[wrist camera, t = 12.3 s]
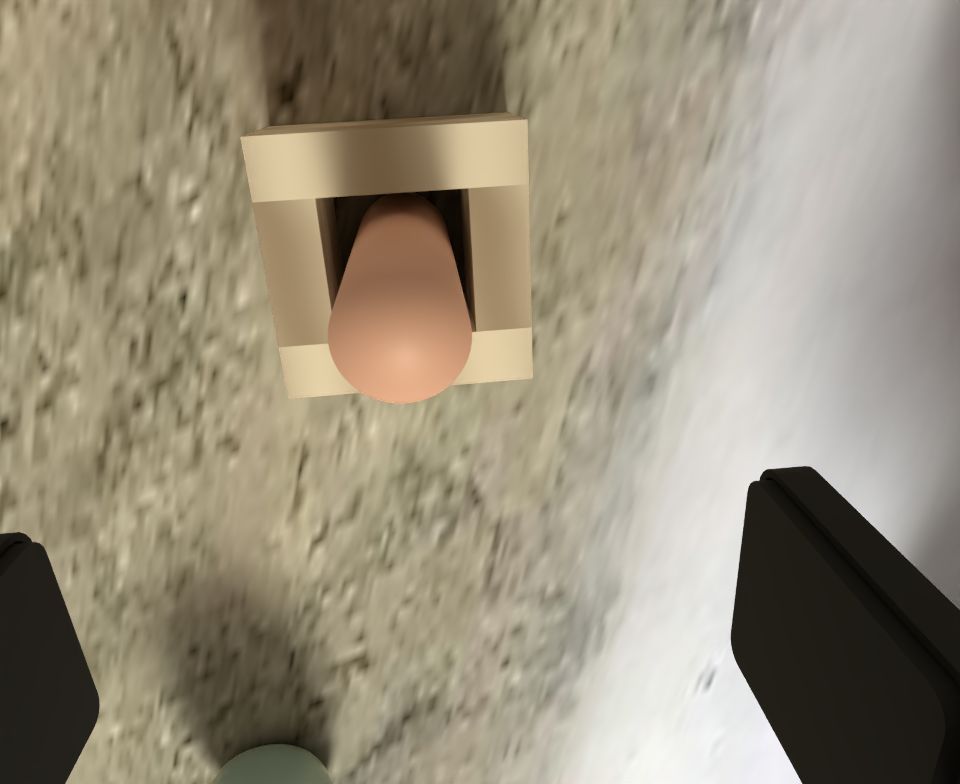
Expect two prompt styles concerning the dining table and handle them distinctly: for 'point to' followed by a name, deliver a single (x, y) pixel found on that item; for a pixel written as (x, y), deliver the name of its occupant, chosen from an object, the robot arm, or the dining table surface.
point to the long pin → (400, 305)
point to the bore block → (382, 170)
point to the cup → (273, 767)
